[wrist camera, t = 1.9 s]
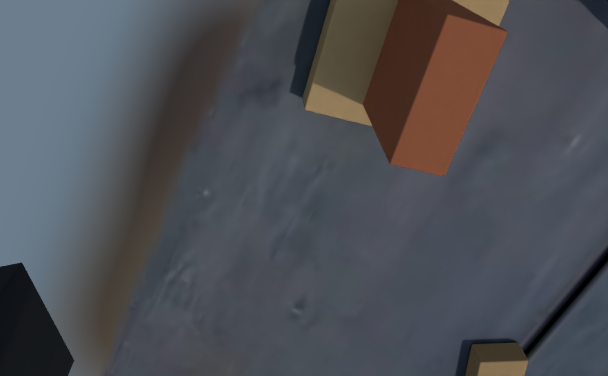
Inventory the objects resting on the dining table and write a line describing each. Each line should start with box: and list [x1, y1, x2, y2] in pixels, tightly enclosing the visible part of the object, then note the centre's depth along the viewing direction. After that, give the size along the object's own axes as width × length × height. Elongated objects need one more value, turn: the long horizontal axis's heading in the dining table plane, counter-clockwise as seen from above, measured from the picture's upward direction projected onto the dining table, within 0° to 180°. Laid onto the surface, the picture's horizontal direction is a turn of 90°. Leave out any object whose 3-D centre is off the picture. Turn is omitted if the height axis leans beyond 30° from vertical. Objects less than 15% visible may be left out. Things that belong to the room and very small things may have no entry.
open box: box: [303, 0, 510, 176], centre depth 24 cm, size 8×8×9 cm
